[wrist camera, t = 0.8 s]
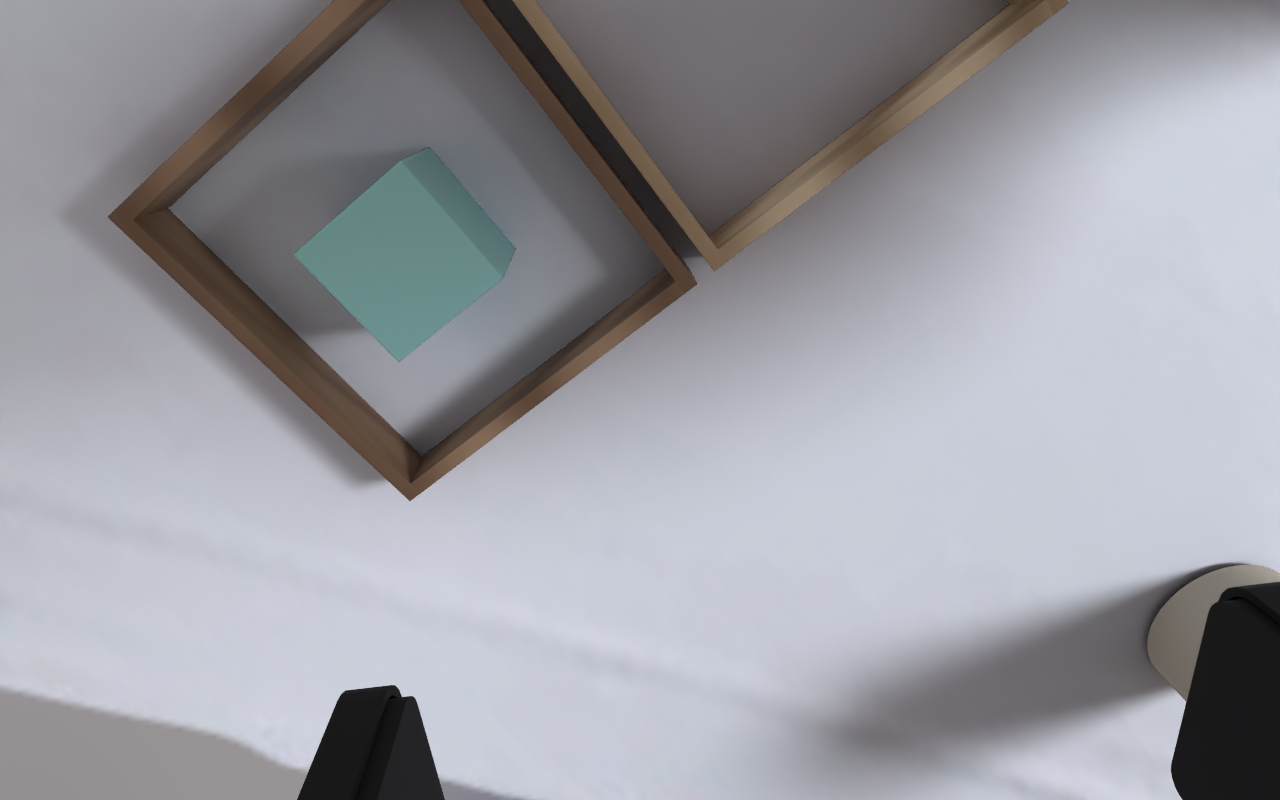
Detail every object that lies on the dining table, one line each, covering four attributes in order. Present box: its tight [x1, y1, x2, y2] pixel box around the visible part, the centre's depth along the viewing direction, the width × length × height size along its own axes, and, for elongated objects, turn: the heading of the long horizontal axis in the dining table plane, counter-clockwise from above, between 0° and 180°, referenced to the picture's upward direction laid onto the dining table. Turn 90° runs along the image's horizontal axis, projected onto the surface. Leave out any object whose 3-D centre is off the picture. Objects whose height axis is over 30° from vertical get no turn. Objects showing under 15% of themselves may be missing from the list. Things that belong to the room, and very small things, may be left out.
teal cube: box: [293, 147, 516, 362], centre depth 29 cm, size 5×5×5 cm
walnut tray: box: [108, 0, 697, 501], centre depth 30 cm, size 15×15×2 cm
